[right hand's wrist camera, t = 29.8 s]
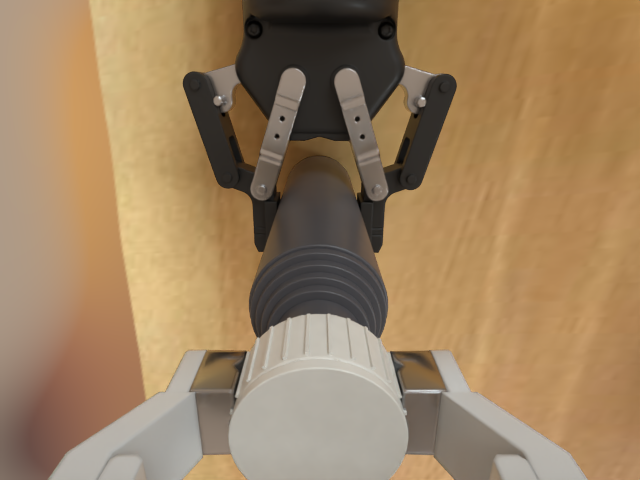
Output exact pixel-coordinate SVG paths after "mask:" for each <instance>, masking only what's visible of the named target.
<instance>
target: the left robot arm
mask: <svg viewBox="0 0 640 480" xmlns="http://www.w3.org/2000/svg"><path fill="white" fill-rule="evenodd" d="M398 3H399V0H242V6H243V25H244V36H243V42H242V45H241V48H240V51H239V53H238V55H237V57H236V61H235V64H234V65H230V66H227V67H224V68H220V69H217V70H213V71H210V72H206V73H203V72H190V73H188V74H186V76H185V77H184V79H183V87H184V90H185V93H186V96H187V99H188V101H189V104H190V107H191V110H192V113H193V115H194V118H195V121H196V124H197V127H198V129H199V132H200V135H201V138H202V141H203V143H204V146H205V149H206V152H207V155H208V157H209V160H210V163H211V166H212V169H213V171H214V174H215V177H216V180H217V182H218V184H219V185H220V186H222V187H224V188H234V189H237V190H240V191H243V192H245V193H246V194H248V195H249V196H250V198H251V200H252V203H253V220H254V239H255V245H256V247H257V249H258V252H264V249H265V246H266V243H267V240H268V237H269V234H270V231H271V228H272V225H273V222H274V219H275V216H276V213H277V210H278V207H279V204H280V201H281V199H280V192H277V190H276V184H277V180H278V177H279V174H280V171H281V168H282V164H283V161H284V158H285V155H286V152H287V149H288V146H289V143H290V141H305V140H309V139H312V138H316V137H323V138H327V139H330V140H334V141H349V142H350V146H351V149H352V152H353V155H354V158H355V162H356V165H357V168H358V172H359V175H360V178H361V182H362V183H361V193H357V203H358V206H359V209H360V212H361V215H362V218H363V221H364V224H365V227H366V230H367V233H368V236H369V239H370V242H371V246H372V249H373V252H374V253H379V250H380V248H381V246H382V243H383V227H384V211H385V202H386V200H387V198H388V197H389V196H390V195H391V194H393V193H395V192H398V191H401V190H404V189H407V190H414V189H416V188H418V187H419V186H420V185H421V183H422V180H423V178H424V175H425V172H426V169H427V167H428V164H429V161H430V159H431V156H432V153H433V151H434V148H435V145H436V142H437V140H438V137H439V134H440V132H441V129H442V126H443V123H444V121H445V118H446V115H447V113H448V110H449V107H450V104H451V102H452V99H453V96H454V94H455V91H456V87H457V85H456V81H455V79H454V77H453V76H451V75H449V74H432V73H428V72H425V71H422V70H419V69H415V68H412V67H409V66H406V65H405V61H404V58H403V55H402V53H401V51H400V49H399V45H398V41H397V18H398ZM240 84H242V85H243V87H244V88H245V90H246V91H247V92H248V94H249V95H250V96H251V98H252V99H253V100H254V102H255V103H256V105H257V106H258V107H259V109H260V110H261V111H262V113H263V114H264V115H265V117H266V118H267V120H268V121H269V122H268V125H267V129H266V132H265V136H264V139H263V143H262V146H261V150H260V155H259V160H258V163H257V166H256V167H254V166H251V165H248V164H245V163H244V160H243V157H242V154H241V151H240V147H239V144H238V141H237V138H236V135H235V132H234V129H233V126H232V123H231V120H230V117H229V114H228V111H230V110H232V109H233V108H234V106H235V104H236V98H235V91H236V89H237V87H238V86H239V85H240ZM398 85H400V86H401V87H402V88H403V90H404V94H405V97H404V106H405V108H406V110H408V111H409V112H411V116H410V119H409V122H408V125H407V128H406V131H405V134H404V137H403V140H402V143H401V145H400V148H399V151H398V154H397V157H396V160H395V163H394V164H393V165H390V166H387V167H384V168H383V167H382V163H381V160H380V154H379V149H378V146H377V142H376V138H375V135H374V131H373V128H372V124H371V121H372V120H373V118H374V117H375V116H376V114H377V113H378V112H379V110H380V109H381V108H382V106H383V105H384V104H385V102H386V101H387V100H388V98H389V97H390V96H391V94H392V93H393V92H394V90H395V89H396V88H397V86H398Z"/></svg>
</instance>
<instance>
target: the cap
mask: <svg viewBox="0 0 640 480" xmlns="http://www.w3.org/2000/svg"><path fill="white" fill-rule="evenodd" d="M235 397H236V402H235V405H234V409H231V410H230V415H232V416H231V420H230V424H229V431H228V442H229V448H230V452H231V455H232V457H233V460H234V462H235V464H236V465H237V467H238V469H239V470H240V472H241V473H242V474H243V475H244V476H245V478H246V479H248V480H389V479H390V478H391V477H392V476H393V475H394V473H395V472H396V471H397V469H398V468H399V466H400V465H401V463H402V461H403V459H404V456H405V453H406V450H407V445H408V427H407V422H406V418H405V415H407V411H406V410H403V406H402V403H401V399H400V398H402V395H401V391H400V387H399V384H398V380H397V376H396V372H395V369H394V365H393V361H392V357H391V354H390V352H388V353H387V351H386V349H385V347H384V346H383V344H382V340H381V339H380V338H377V337H376V336H375V335H374V334H373V333H371V332H370V331H369V330H368V328H367V327H366V326H365V327H363V326H361V325H360V324H358V323H356V322H354V321H351V319H350V318H347V319H346V318H343V317H339V316H337V315H331V314H310V313H309V314H307V315H301V316H297V317H294V318H287V320H285V321H283V322H281V323H279V324H277V325H275V326H274V327H273V326H271V327H270V328H269V330H268V331H267V332H266V333H264V334H263V335H262V336H261V337H260V338H257V339H256V341H255V344H254V346H253V347H252V349H251V350H250V352H248V351H247V353H246V357H245V360H244V364H243V368H242V372H241V375H240V379H239V383H238V386H237V390H236V394H235Z"/></svg>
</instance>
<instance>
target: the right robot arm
mask: <svg viewBox="0 0 640 480" xmlns="http://www.w3.org/2000/svg"><path fill="white" fill-rule="evenodd" d="M246 353H247V351H234V350H188V351H186V352H185V354H184V356H183V358H182V360H181V362H180V364H179V366H178V368H177V370H176V372H175V373H174V375H173V377H172V379H171V381H170V383H169V385H168V387H167V389H166V391H165V392H159V393H157V394H156V395H154V396H152V397H151V398H149V399H148V400H146V401H145V402H143V403H142V404H140V405H139V406H137V407H136V408H134V409H133V410H131V411H130V412H128V413H126V414H125V415H123V416H122V417H120V418H119V419H117V420H116V421H114V422H113V423H111V424H110V425H108V426H106V427H105V428H103V429H102V430H100V431H99V432H97V433H96V434H94V435H93V436H91V437H90V438H88V439H87V440H85V441H83V442H82V443H80V444H79V445H77V446H76V447H74V448H73V449H71V450H70V451H68V452H67V453H66V454H65V455H64V457H63V458H62V460H61V461H60V463H59V464H58V466H57V467H56V468H55V470H54V471H53V473H52V474H51V476H50V477H49V478H48V480H182V479H183V478H184V477H185V476H186V475H187V474H188V473H189V472H190V471H191V470H192V468H193V467H194V466H195V465H196V464H197V463H198V462H199V461H200V460H201V459H202V458H203V455H219V454H231V452H230V448H229V442H228V431H229V424H230V420H231V416H232V415H230V410H231V409H234V405H235V402H236V397H235V394H236V390H237V386H238V383H239V379H240V375H241V372H242V368H243V364H244V360H245V357H246ZM390 354H391V357H392V361H393V365H394V369H395V372H396V376H397V380H398V384H399V387H400V391H401V395H402V398H400V399H401V403H402V406H403V410H406V411H407V415H405V418H406V422H407V427H408V445H407V450H406V453H405V454H417V455H434V458H435V459H436V460H437V461H438V462H439V463H440V464H441V465H442V466H443V467H444V469H445V470H446V471H447V472H448V473H449V474H450V475H451V476H452V477H453V478H454V480H588V479H587V478H586V476H585V475H584V473H583V472H582V470H581V469H580V467H579V466H578V465H577V463H576V462H575V460H574V459H573V457H572V456H571V454H570V453H569V452H567V451H566V450H564V449H563V448H561V447H560V446H558V445H557V444H555V443H554V442H552V441H551V440H549V439H548V438H546V437H545V436H543V435H542V434H540V433H538V432H537V431H535V430H534V429H532V428H531V427H529V426H528V425H526V424H525V423H523V422H522V421H520V420H519V419H517V418H516V417H514V416H513V415H511V414H510V413H508V412H507V411H505V410H504V409H502V408H501V407H499V406H498V405H496V404H495V403H493V402H492V401H490V400H488V399H487V398H485V397H484V396H482V395H481V394H479V393H478V392H471V390H470V388H469V386H468V384H467V382H466V380H465V378H464V376H463V374H462V372H461V370H460V368H459V366H458V364H457V362H456V360H455V358H454V356H453V354H452V352H451V351H449V350H429V351H390Z"/></svg>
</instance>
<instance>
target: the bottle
mask: <svg viewBox="0 0 640 480" xmlns="http://www.w3.org/2000/svg"><path fill="white" fill-rule="evenodd" d="M249 312H250V318H251V323H252V326H253V329H254V332H255V334H256V336H257V338H260V337H261V336H262V335H263V334H264V333H266V332H267V331H268V330H269V328H270V327H271V326H273V327H274V326H275V325H277V324H279V323H281V322H283V321H285V320H287V318H294V317H297V316H301V315H307V314H309V313H310V314H331V315H337V316H339V317H343V318H346V319H347V318H350V319H351V321H354V322H356V323H358V324H360V325H361V326H363V327H365V326H366V327H367V328H368V330H369V331H370V332H371V333H373V334H374V335H375V336H376V337H377V338H380V336H381V334H382V332H383V330H384V326H385V323H386V318H387V312H388V297H387V292H386V289H385V285H384V282H383V279H382V276H381V273H380V270H379V267H378V264H377V261H376V258H375V255H374V252H373V249H372V246H371V242H370V239H369V236H368V233H367V230H366V227H365V224H364V221H363V218H362V215H361V212H360V209H359V206H358V203H357V199H356V196H355V193H354V190H353V187H352V184H351V181H350V178H349V175H348V173H347V171H346V170H345V168H344V167H343V166H342V165H341V164H340V163H339V162H337V161H336V160H334V159H332V158H329V157H325V156H313V157H309V158H306V159H304V160H302V161H300V162H299V163H298V164H297V165H296V166H295V167H294V168H293V169H292V171H291V172H290V174H289V176H288V179H287V182H286V185H285V188H284V191H283V194H282V198H281V201H280V204H279V207H278V210H277V213H276V216H275V219H274V222H273V225H272V228H271V231H270V234H269V237H268V240H267V243H266V246H265V249H264V252H263V255H262V258H261V261H260V264H259V267H258V270H257V273H256V276H255V279H254V282H253V285H252V289H251V292H250V298H249Z"/></svg>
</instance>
